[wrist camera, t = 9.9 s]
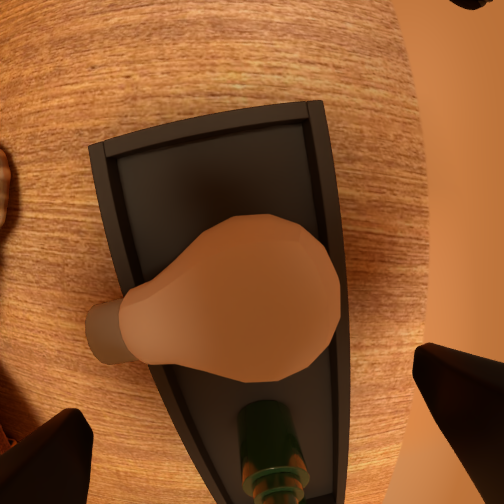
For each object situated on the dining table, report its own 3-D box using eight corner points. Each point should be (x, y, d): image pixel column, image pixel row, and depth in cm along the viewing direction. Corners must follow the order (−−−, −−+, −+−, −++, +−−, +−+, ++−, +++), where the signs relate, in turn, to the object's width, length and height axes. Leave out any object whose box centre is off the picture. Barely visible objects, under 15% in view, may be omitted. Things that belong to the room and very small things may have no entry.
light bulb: (89, 437, 10) (379, 386, 9) (22, 280, 9) (339, 183, 8) (139, 370, 16) (335, 325, 16) (100, 258, 15) (304, 199, 15)
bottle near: (281, 392, 18) (313, 503, 10) (297, 426, 19) (328, 525, 11) (227, 409, 18) (234, 522, 10) (248, 441, 19) (261, 542, 11)
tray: (311, 107, 14) (323, 99, 12) (338, 489, 23) (344, 504, 21) (102, 148, 14) (87, 145, 12) (230, 510, 22) (231, 526, 20)
